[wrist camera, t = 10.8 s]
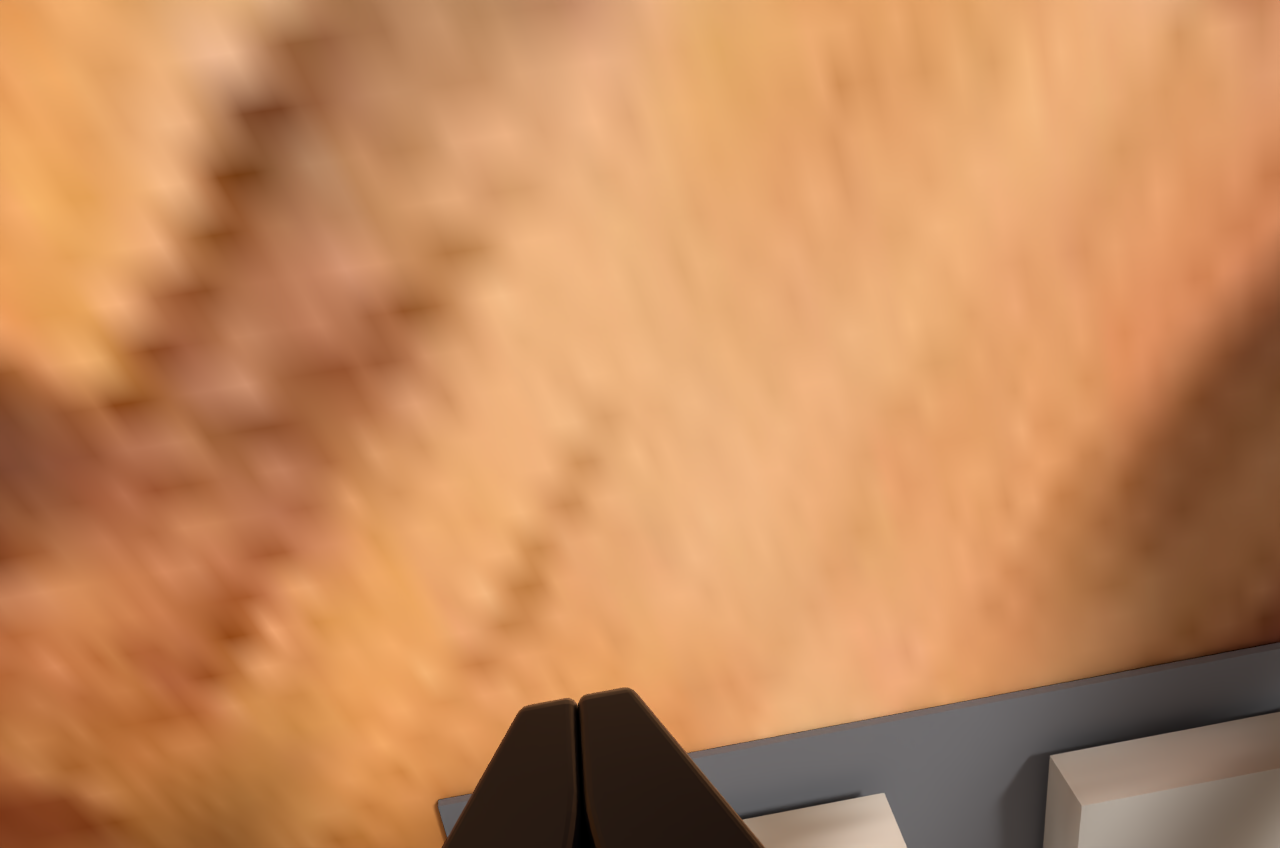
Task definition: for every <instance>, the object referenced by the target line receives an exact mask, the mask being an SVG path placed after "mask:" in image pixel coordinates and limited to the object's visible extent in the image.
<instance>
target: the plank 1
mask: <svg viewBox="0 0 1280 848" xmlns="http://www.w3.org/2000/svg"><path fill="white" fill-rule="evenodd" d="M743 821H744V823H745V824H746V825H747V826H748V827H749V829H750V830H751V831H752V832H753V833H754V835H755V836H756V837H757V838H758V839H759V841H760V842H761V843H762V844H763V845H764V847H765V848H907V846H906V844H905V841H904V839H903V837H902V834H901V832H900V829H899V827H898V825H897V822H896V820H895V817H894V815H893V813H892V810H891V808H890V805H889V803H888V801H887V798H886V796H885V793H880V794H875V795H870V796H864V797H859V798H854V799H848V800H843V801H838V802H833V803H827V804H822V805H817V806H812V807H806V808H801V809H796V810H791V811H785V812H780V813H775V814H770V815H764V816H759V817H754V818H749V819H743Z"/></svg>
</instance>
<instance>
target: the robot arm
mask: <svg viewBox="0 0 1280 848" xmlns="http://www.w3.org/2000/svg"><path fill="white" fill-rule="evenodd" d="M442 848H765V847H764V845H763V844H762V843H761V842H760V841H759V839H758V838H757V837H756V836H755V835H754V833H753V832H752V831H751V830H750V829H749V827H748V826H747V825H746V824H745V823H744V821H743V820H742V819H741V818H740V817H739V815H738V814H737V813H736V812H735V811H734V809H733V808H732V807H731V806H730V805H729V803H728V802H727V801H726V800H725V799H724V797H723V796H722V795H721V794H720V793H719V791H718V790H717V789H716V788H715V787H714V785H713V784H712V783H711V782H710V781H709V779H708V778H707V777H706V776H705V775H704V773H703V772H702V771H701V770H700V769H699V767H698V766H697V765H696V764H695V763H694V761H693V760H692V759H691V758H690V757H689V755H688V754H687V753H686V752H685V750H684V749H683V748H682V747H681V746H680V744H679V743H678V742H677V741H676V740H675V738H674V737H673V736H672V735H671V734H670V732H669V731H668V730H667V729H666V728H665V726H664V725H663V724H662V723H661V722H660V720H659V719H658V718H657V717H656V716H655V714H654V713H653V712H652V711H651V710H650V708H649V707H648V706H647V705H646V704H645V702H644V701H643V700H642V699H641V698H640V696H639V695H638V694H637V693H636V692H635V691H634V690H632V689H630V688H619V689H613V690H608V691H602V692H597V693H592V694H587V695H584V696H583V697H582V698H581V699H580V701H579V703H578V705H577V703H576V702H575V701H574V700H572V699H570V698H564V699H559V700H553V701H548V702H543V703H537V704H532V705H528V706H525V707H523V708H522V709H521V710H520V711H519V712H518V714H517V715H516V717H515V719H514V721H513V722H512V724H511V726H510V728H509V729H508V731H507V733H506V735H505V737H504V738H503V740H502V742H501V744H500V745H499V747H498V749H497V751H496V753H495V754H494V756H493V758H492V760H491V761H490V763H489V765H488V767H487V768H486V770H485V772H484V774H483V776H482V777H481V779H480V781H479V783H478V784H477V786H476V788H475V790H474V792H473V793H472V795H471V797H470V799H469V800H468V802H467V804H466V806H465V807H464V809H463V811H462V813H461V815H460V816H459V818H458V820H457V822H456V823H455V825H454V827H453V829H452V831H451V832H450V834H449V836H448V838H447V839H446V841H445V843H444V845H443V846H442Z"/></svg>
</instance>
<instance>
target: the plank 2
mask: <svg viewBox="0 0 1280 848" xmlns="http://www.w3.org/2000/svg"><path fill="white" fill-rule="evenodd" d="M1043 848H1280V712H1276V713H1271V714H1266V715H1260V716H1255V717H1250V718H1244V719H1239V720H1234V721H1229V722H1223V723H1218V724H1213V725H1208V726H1202V727H1197V728H1192V729H1187V730H1181V731H1176V732H1171V733H1166V734H1160V735H1155V736H1150V737H1145V738H1139V739H1134V740H1129V741H1123V742H1118V743H1113V744H1108V745H1102V746H1097V747H1092V748H1087V749H1081V750H1076V751H1071V752H1066V753H1060V754H1055V755H1050V761H1049V774H1048V788H1047V801H1046V814H1045V828H1044V841H1043Z"/></svg>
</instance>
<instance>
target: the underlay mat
mask: <svg viewBox="0 0 1280 848" xmlns="http://www.w3.org/2000/svg"><path fill="white" fill-rule="evenodd" d="M1276 712H1280V643H1274V644H1269V645H1264V646H1258V647H1253V648H1247V649H1242V650H1237V651H1231V652H1226V653H1221V654H1215V655H1210V656H1205V657H1199V658H1194V659H1189V660H1183V661H1178V662H1173V663H1167V664H1162V665H1157V666H1151V667H1146V668H1141V669H1135V670H1130V671H1125V672H1119V673H1114V674H1109V675H1103V676H1098V677H1093V678H1087V679H1082V680H1076V681H1071V682H1066V683H1060V684H1055V685H1050V686H1044V687H1039V688H1034V689H1028V690H1023V691H1018V692H1012V693H1007V694H1002V695H996V696H991V697H986V698H980V699H975V700H970V701H964V702H959V703H954V704H948V705H943V706H938V707H932V708H927V709H921V710H916V711H911V712H905V713H900V714H895V715H889V716H884V717H879V718H873V719H868V720H863V721H857V722H852V723H847V724H841V725H836V726H831V727H825V728H820V729H815V730H809V731H804V732H799V733H793V734H788V735H783V736H777V737H772V738H767V739H761V740H756V741H750V742H745V743H740V744H734V745H729V746H724V747H718V748H713V749H708V750H702V751H697V752H692V753H687V754H688V755H689V757H690V758H691V759H692V760H693V761H694V763H695V764H696V765H697V766H698V767H699V769H700V770H701V771H702V772H703V773H704V775H705V776H706V777H707V778H708V779H709V781H710V782H711V783H712V784H713V785H714V787H715V788H716V789H717V790H718V791H719V793H720V794H721V795H722V796H723V797H724V799H725V800H726V801H727V802H728V803H729V805H730V806H731V807H732V808H733V809H734V811H735V812H736V813H737V814H738V815H739V817H740V818H741V819H742V820H743V819H749V818H754V817H759V816H764V815H770V814H775V813H780V812H785V811H791V810H796V809H801V808H806V807H812V806H817V805H822V804H827V803H833V802H838V801H843V800H848V799H854V798H859V797H864V796H870V795H875V794H880V793H885V796H886V798H887V801H888V803H889V805H890V808H891V810H892V813H893V815H894V817H895V820H896V822H897V825H898V827H899V829H900V832H901V834H902V837H903V839H904V841H905V844H906V846H907V848H1043V841H1044V828H1045V814H1046V801H1047V788H1048V774H1049V761H1050V755H1055V754H1060V753H1066V752H1071V751H1076V750H1081V749H1087V748H1092V747H1097V746H1102V745H1108V744H1113V743H1118V742H1123V741H1129V740H1134V739H1139V738H1145V737H1150V736H1155V735H1160V734H1166V733H1171V732H1176V731H1181V730H1187V729H1192V728H1197V727H1202V726H1208V725H1213V724H1218V723H1223V722H1229V721H1234V720H1239V719H1244V718H1250V717H1255V716H1260V715H1266V714H1271V713H1276ZM471 795H472V794H467V795H462V796H457V797H451V798H446V799H441V800H438V809H439V812H440V815H441V819H442V822H443V825H444V829H445V832H446V835H447V838H448V836H449V834H450V832H451V831H452V829H453V827H454V825H455V823H456V822H457V820H458V818H459V816H460V815H461V813H462V811H463V809H464V807H465V806H466V804H467V802H468V800H469V799H470V797H471Z"/></svg>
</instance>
